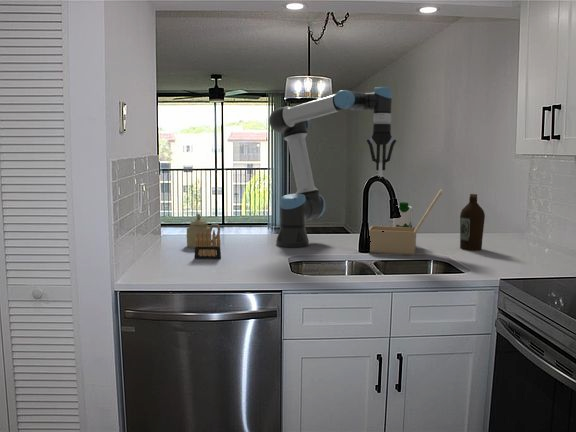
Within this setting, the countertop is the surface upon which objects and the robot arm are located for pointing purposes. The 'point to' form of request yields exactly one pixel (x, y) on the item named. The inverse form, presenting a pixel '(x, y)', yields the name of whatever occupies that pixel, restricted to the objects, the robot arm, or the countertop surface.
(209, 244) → the ammunition clip
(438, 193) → the carton flap
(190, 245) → the sugar bowl
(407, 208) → the milk carton
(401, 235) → the carton
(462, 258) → the countertop surface
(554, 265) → the countertop surface
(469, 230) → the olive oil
